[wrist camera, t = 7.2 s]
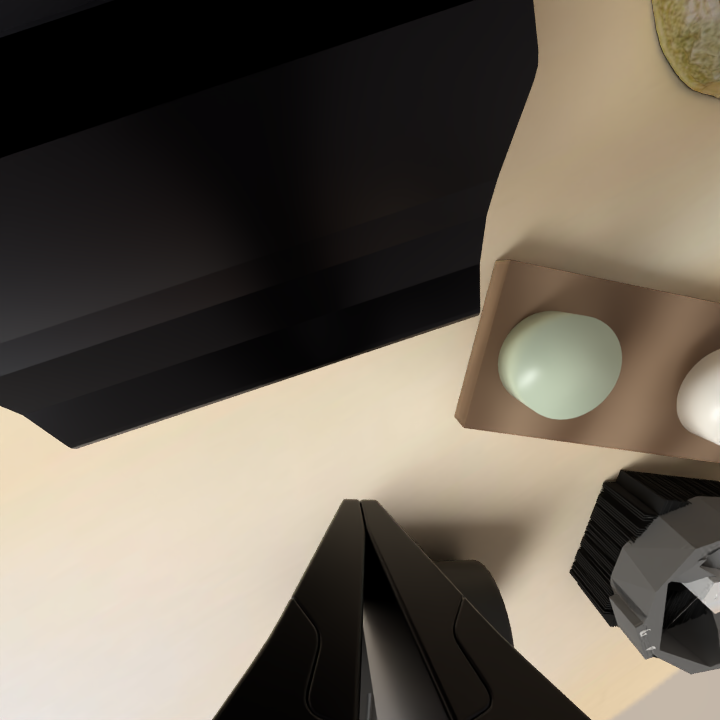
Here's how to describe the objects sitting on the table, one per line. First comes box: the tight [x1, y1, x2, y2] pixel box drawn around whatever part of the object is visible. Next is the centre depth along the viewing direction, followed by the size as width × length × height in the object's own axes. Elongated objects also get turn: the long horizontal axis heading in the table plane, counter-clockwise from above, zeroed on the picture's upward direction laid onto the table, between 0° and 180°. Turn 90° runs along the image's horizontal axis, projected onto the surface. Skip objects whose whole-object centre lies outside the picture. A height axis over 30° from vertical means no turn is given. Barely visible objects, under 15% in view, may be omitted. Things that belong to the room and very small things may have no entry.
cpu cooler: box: [569, 470, 720, 674], centre depth 21 cm, size 10×6×10 cm
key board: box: [454, 260, 720, 463], centre depth 20 cm, size 25×9×2 cm, turn 80°
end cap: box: [360, 560, 514, 720], centre depth 20 cm, size 10×7×7 cm
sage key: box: [498, 311, 622, 420], centre depth 17 cm, size 5×5×2 cm
